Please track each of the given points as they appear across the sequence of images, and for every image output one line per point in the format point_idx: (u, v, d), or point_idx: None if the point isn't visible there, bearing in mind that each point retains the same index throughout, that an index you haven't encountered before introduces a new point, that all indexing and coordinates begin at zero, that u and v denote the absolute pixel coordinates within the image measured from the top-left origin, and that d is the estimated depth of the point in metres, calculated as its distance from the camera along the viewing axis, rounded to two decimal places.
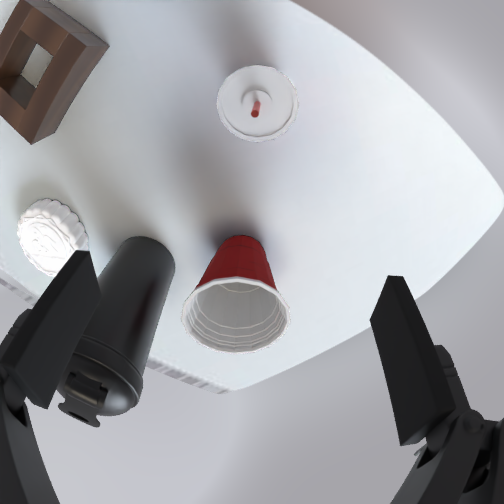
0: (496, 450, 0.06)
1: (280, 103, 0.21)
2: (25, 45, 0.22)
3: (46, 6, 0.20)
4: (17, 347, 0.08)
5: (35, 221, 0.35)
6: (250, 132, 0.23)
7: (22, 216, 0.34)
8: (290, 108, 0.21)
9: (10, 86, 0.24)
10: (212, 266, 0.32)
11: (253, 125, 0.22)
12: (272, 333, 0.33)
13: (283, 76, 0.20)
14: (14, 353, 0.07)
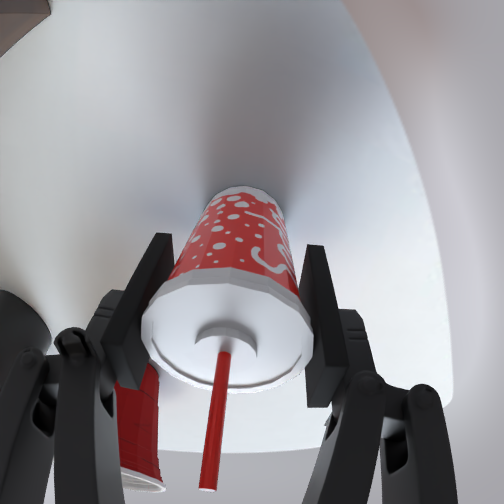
0: (409, 427, 0.07)
1: (267, 362, 0.11)
2: None
3: None
4: (119, 325, 0.09)
5: None
6: (189, 372, 0.12)
7: None
8: (280, 373, 0.11)
9: None
10: None
11: (199, 367, 0.11)
12: (140, 483, 0.21)
13: (306, 333, 0.10)
14: (117, 331, 0.09)
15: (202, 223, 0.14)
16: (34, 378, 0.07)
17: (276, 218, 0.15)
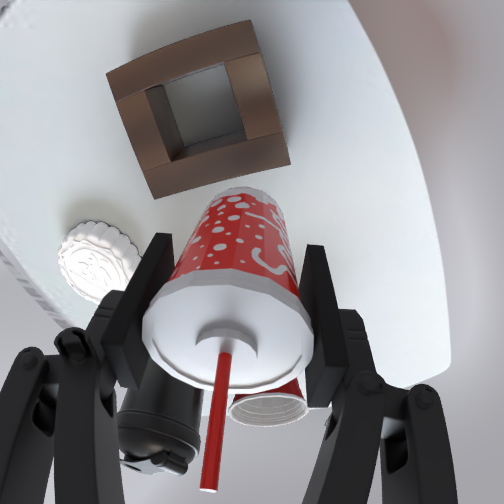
0: (409, 427, 0.07)
1: (268, 362, 0.11)
2: (202, 70, 0.24)
3: None
4: (119, 325, 0.09)
5: (97, 250, 0.34)
6: (189, 373, 0.12)
7: (81, 235, 0.33)
8: (280, 373, 0.11)
9: (157, 108, 0.25)
10: None
11: (200, 368, 0.11)
12: (280, 419, 0.41)
13: (307, 334, 0.10)
14: (117, 331, 0.09)
15: (203, 224, 0.14)
16: (34, 378, 0.07)
17: (276, 219, 0.15)
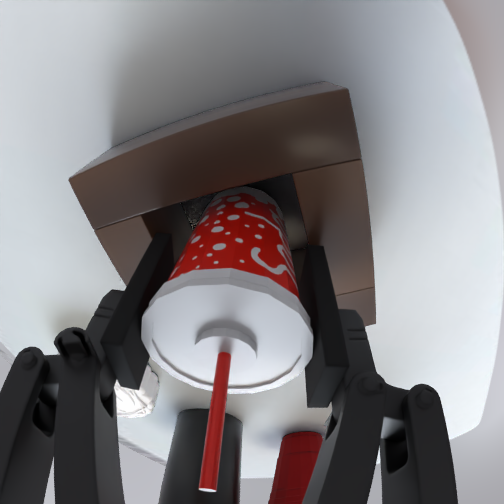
0: (409, 427, 0.07)
1: (267, 362, 0.11)
2: None
3: None
4: (119, 325, 0.09)
5: None
6: (189, 372, 0.12)
7: None
8: (280, 373, 0.11)
9: None
10: (303, 475, 0.30)
11: (199, 367, 0.11)
12: None
13: (306, 334, 0.10)
14: (117, 331, 0.09)
15: (202, 224, 0.14)
16: (34, 378, 0.07)
17: (276, 219, 0.15)
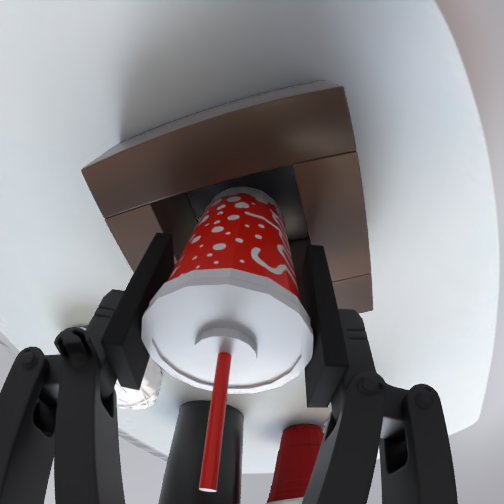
0: (409, 427, 0.07)
1: (267, 362, 0.11)
2: None
3: None
4: (120, 325, 0.09)
5: None
6: (189, 372, 0.12)
7: None
8: (280, 373, 0.11)
9: (173, 223, 0.17)
10: (303, 467, 0.31)
11: (199, 367, 0.11)
12: None
13: (306, 334, 0.10)
14: (117, 331, 0.09)
15: (202, 224, 0.14)
16: (34, 378, 0.07)
17: (276, 219, 0.15)
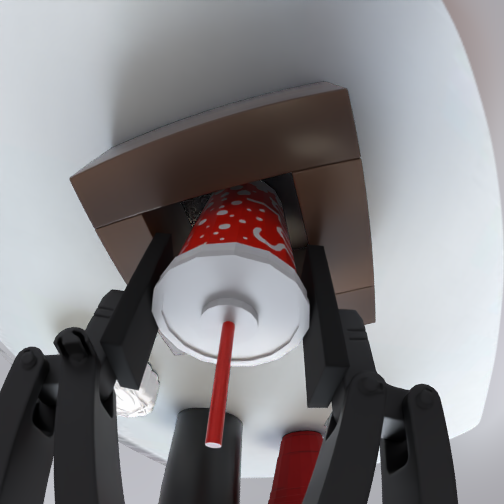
0: (409, 427, 0.07)
1: (267, 333, 0.12)
2: None
3: None
4: (119, 325, 0.09)
5: None
6: (195, 345, 0.13)
7: None
8: (279, 344, 0.12)
9: None
10: (303, 475, 0.30)
11: (204, 339, 0.13)
12: None
13: (303, 303, 0.11)
14: (117, 331, 0.09)
15: (208, 209, 0.15)
16: (34, 378, 0.07)
17: (275, 205, 0.16)
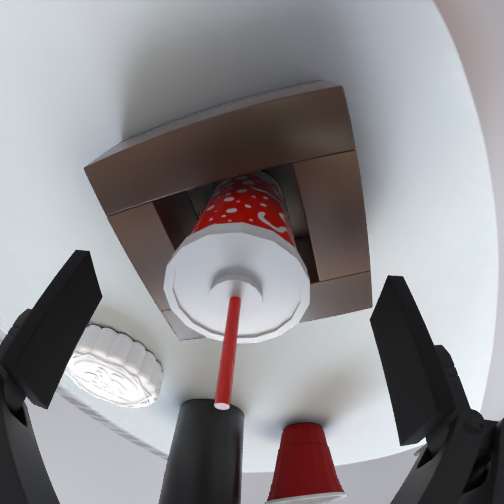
0: (496, 450, 0.06)
1: (271, 309, 0.13)
2: None
3: None
4: (17, 347, 0.08)
5: (106, 364, 0.27)
6: (202, 322, 0.14)
7: (85, 349, 0.26)
8: (282, 321, 0.14)
9: (174, 221, 0.17)
10: (303, 466, 0.31)
11: (212, 316, 0.14)
12: (314, 499, 0.33)
13: (304, 279, 0.12)
14: (14, 353, 0.07)
15: (215, 197, 0.16)
16: None
17: (278, 194, 0.17)
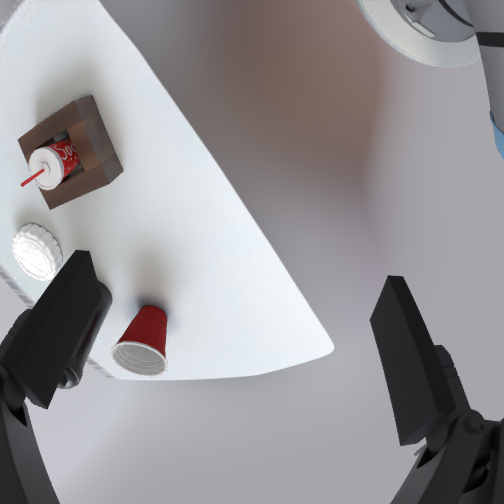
0: (496, 450, 0.06)
1: (53, 173, 0.34)
2: (65, 130, 0.37)
3: (90, 113, 0.36)
4: (17, 347, 0.08)
5: (31, 242, 0.48)
6: (39, 182, 0.35)
7: (22, 233, 0.47)
8: (57, 177, 0.35)
9: None
10: (135, 327, 0.52)
11: (41, 179, 0.35)
12: (155, 371, 0.54)
13: (56, 160, 0.33)
14: (14, 353, 0.07)
15: None
16: None
17: None
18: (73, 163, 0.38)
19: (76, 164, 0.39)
